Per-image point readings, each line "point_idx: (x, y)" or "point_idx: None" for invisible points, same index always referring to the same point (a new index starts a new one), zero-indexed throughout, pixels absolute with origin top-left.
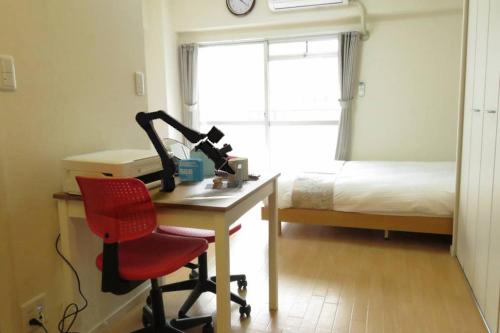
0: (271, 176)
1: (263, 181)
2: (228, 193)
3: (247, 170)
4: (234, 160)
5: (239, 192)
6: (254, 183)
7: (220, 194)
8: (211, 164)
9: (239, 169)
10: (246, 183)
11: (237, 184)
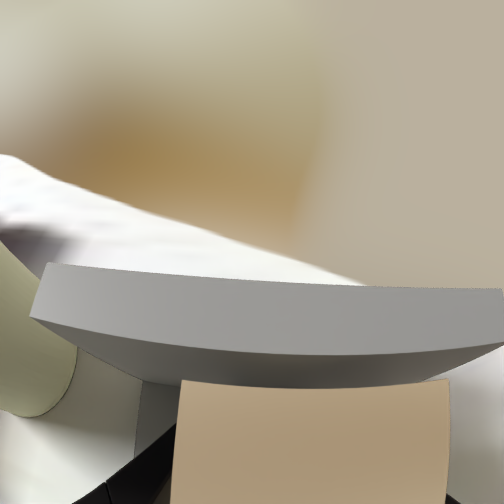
0: (31, 168)
1: (117, 202)
2: (466, 448)
3: (8, 250)
4: (417, 437)
5: (452, 377)
6: (152, 260)
7: (477, 491)
8: None
9: (495, 320)
10: None
11: None
